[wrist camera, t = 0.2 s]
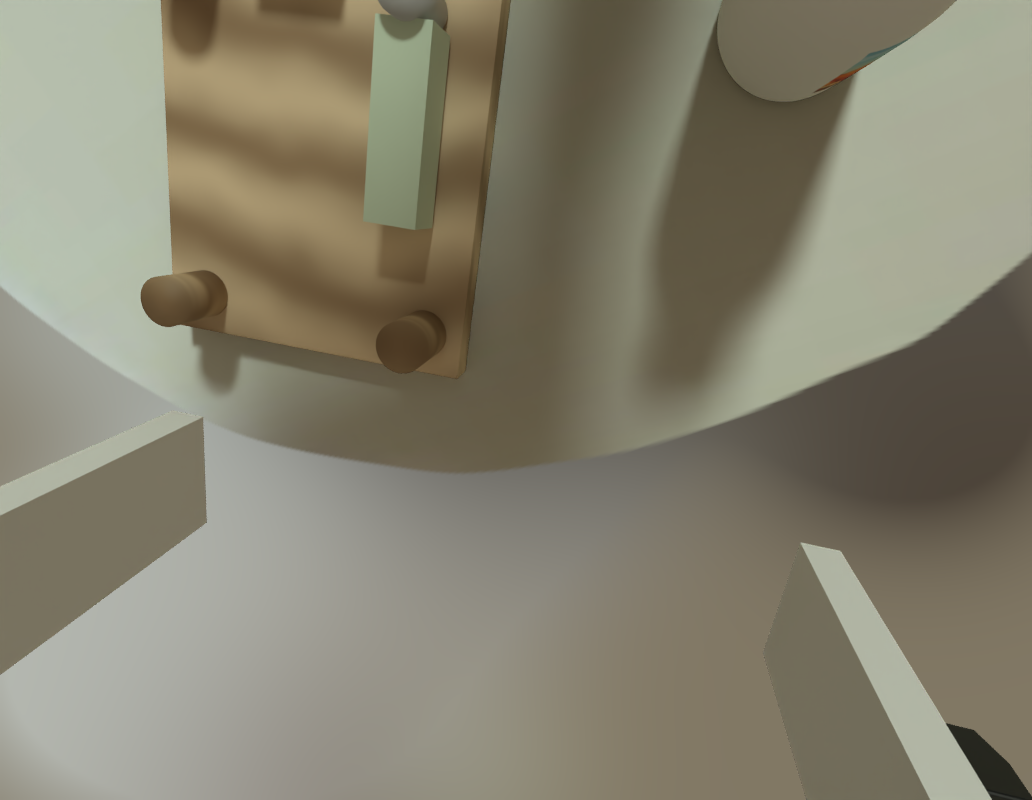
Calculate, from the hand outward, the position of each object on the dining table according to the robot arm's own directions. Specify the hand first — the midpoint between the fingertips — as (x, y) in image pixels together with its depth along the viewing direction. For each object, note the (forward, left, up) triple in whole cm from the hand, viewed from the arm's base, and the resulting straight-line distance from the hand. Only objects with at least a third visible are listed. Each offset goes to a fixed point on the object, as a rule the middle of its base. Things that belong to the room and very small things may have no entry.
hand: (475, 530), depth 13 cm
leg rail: (-10, -11, -24) cm, 28 cm away
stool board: (-7, -17, -26) cm, 32 cm away
